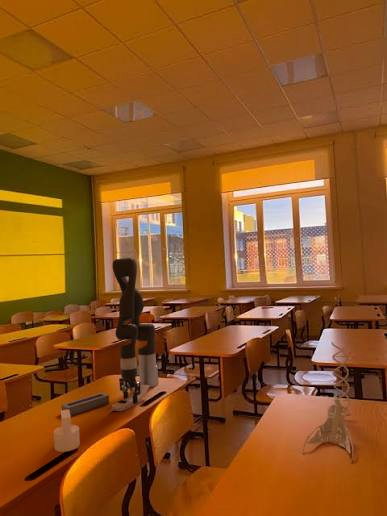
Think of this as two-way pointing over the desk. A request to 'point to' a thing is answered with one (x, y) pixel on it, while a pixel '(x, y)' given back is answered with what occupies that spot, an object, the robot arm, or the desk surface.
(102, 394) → the pen tray
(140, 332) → the robot arm
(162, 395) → the desk surface
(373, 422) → the desk surface
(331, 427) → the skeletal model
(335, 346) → the dna model
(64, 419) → the cylinder with rectangular tab
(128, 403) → the mobile phone
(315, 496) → the desk surface
